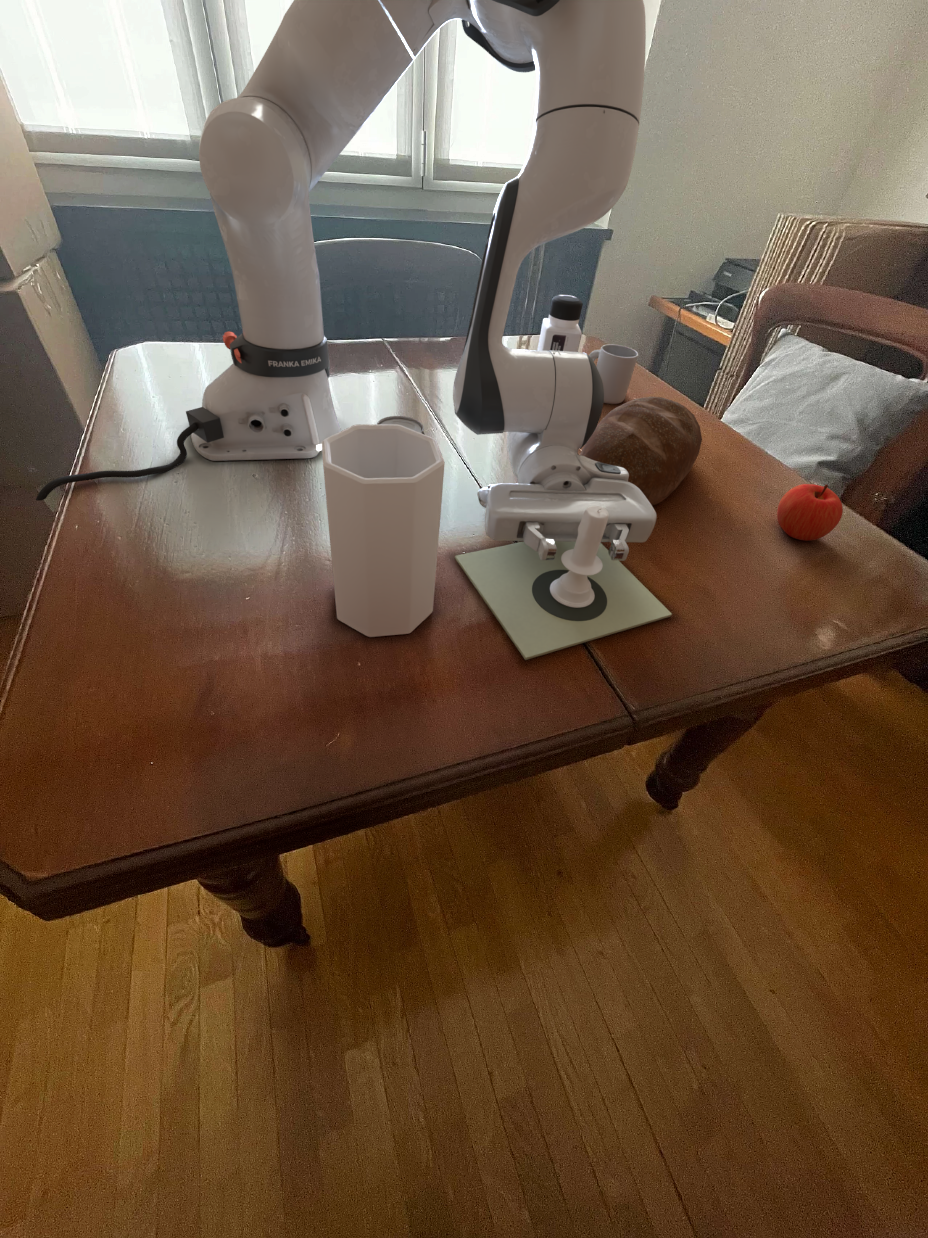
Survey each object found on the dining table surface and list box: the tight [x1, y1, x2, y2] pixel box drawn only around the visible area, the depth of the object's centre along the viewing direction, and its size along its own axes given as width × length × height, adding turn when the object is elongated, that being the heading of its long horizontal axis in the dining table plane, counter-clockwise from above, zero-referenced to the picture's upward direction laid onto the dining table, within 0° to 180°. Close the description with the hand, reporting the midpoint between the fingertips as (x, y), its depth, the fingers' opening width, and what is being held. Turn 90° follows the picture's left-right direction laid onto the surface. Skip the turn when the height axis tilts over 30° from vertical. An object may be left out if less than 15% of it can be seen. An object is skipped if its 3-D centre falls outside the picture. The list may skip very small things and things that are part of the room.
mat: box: [454, 541, 673, 661], centre depth 66 cm, size 20×18×1 cm
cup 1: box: [321, 423, 446, 638], centre depth 54 cm, size 11×11×18 cm
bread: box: [579, 396, 703, 507], centre depth 84 cm, size 16×29×11 cm, turn 147°
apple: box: [776, 483, 844, 542], centre depth 78 cm, size 8×8×8 cm
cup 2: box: [588, 343, 639, 405], centre depth 108 cm, size 7×10×9 cm
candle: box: [550, 506, 609, 608], centre depth 60 cm, size 5×5×12 cm
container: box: [537, 294, 584, 352], centre depth 118 cm, size 8×8×13 cm
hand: (585, 555), depth 59 cm, fingers open, 7 cm apart
